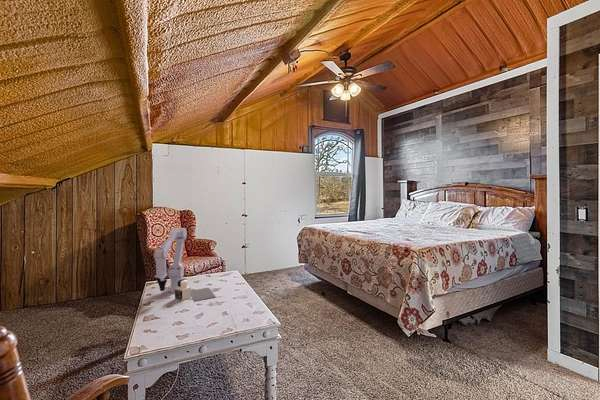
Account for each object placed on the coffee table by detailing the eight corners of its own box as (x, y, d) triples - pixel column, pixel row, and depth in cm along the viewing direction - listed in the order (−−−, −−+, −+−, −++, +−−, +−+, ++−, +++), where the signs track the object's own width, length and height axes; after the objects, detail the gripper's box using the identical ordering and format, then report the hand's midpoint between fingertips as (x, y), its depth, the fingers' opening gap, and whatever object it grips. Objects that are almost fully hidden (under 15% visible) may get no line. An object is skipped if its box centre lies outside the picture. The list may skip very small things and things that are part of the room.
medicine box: (174, 299, 181) (174, 281, 180) (183, 295, 187) (183, 277, 186) (182, 301, 177) (181, 282, 177) (191, 297, 184) (190, 279, 183)
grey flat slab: (189, 291, 194) (189, 291, 193) (208, 288, 200) (208, 287, 200) (194, 301, 176) (194, 300, 176) (215, 297, 183) (215, 296, 183)
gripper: (153, 266, 182) (154, 286, 183) (154, 271, 170) (155, 293, 170) (165, 264, 186) (166, 284, 186) (167, 270, 173) (168, 291, 174)
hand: (161, 289), depth 179 cm, fingers open, 7 cm apart
